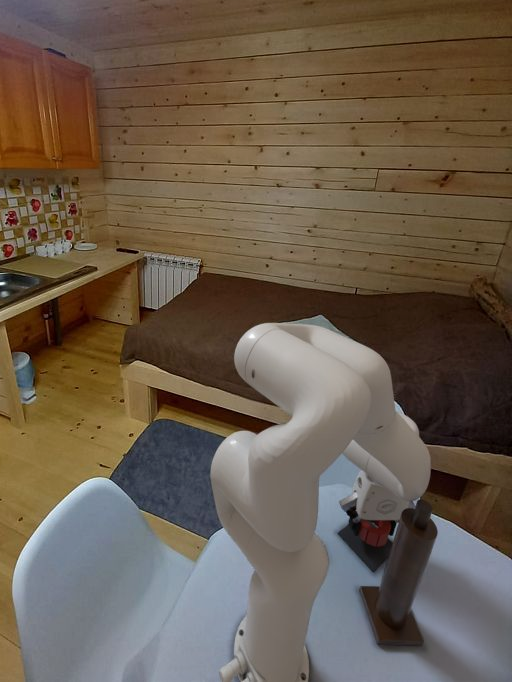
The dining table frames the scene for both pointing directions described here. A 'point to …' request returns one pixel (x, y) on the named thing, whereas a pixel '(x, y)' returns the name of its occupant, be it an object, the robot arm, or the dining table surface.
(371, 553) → the felt mat
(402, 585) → the ring holder
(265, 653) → the robot arm
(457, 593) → the dining table surface
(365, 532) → the ring
